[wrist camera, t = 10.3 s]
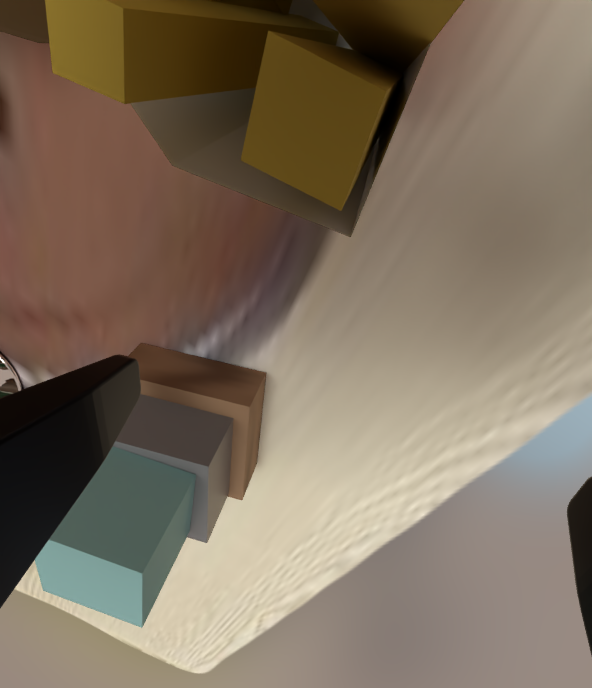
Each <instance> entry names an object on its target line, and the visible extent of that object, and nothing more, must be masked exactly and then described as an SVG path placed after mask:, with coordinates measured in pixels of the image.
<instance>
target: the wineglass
mask: <svg viewBox="0 0 592 688" xmlns="http://www.w3.org/2000/svg"><path fill="white" fill-rule="evenodd" d="M20 390H22V386H21V383H20V381H19V378H18V376H17V374H16V372H15V371H14V369H13V368H12V366H11V365H10V364H9V363H8V361H7V360H6V359H5V358H4V357H3V356H2V355H1V354H0V398H2V397H4V396H7V395H10V394H12V393H15V392H18V391H20Z"/></svg>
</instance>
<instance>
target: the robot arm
mask: <svg viewBox="0 0 592 688" xmlns="http://www.w3.org/2000/svg"><path fill="white" fill-rule="evenodd" d="M140 394H141V382H140V371H139V363H138V361H137V360H136V359H135V358H132V357H128V356H124V355H114V356H111V357H109V358H106V359H103V360H101V361H98V362H95V363H93V364H90V365H87V366H85V367H82V368H79V369H76V370H74V371H71V372H68V373H66V374H63V375H60V376H58V377H55V378H52V379H50V380H47V381H44V382H42V383H39V384H36V385H34V386H31V387H28V388H26V389H23V390H20V391H18V392H15V393H12V394H10V395H7V396H4V397H2V398H0V608H1V607H2V605H3V604H4V602H5V601H6V599H7V598H8V597H9V595H10V594H11V593H12V591H13V590H14V588H15V587H16V585H17V584H18V583H19V581H20V580H21V578H22V577H23V576H24V574H25V573H26V571H27V570H28V569H29V567H30V566H31V564H32V563H33V561H34V560H35V559H36V557H37V556H38V554H39V553H40V552H41V550H42V549H43V547H44V546H45V544H46V543H47V542H48V540H49V539H50V537H51V536H52V535H53V533H54V532H55V530H56V529H57V527H58V526H59V525H60V523H61V522H62V520H63V519H64V518H65V516H66V515H67V513H68V512H69V510H70V509H71V508H72V506H73V505H74V503H75V502H76V501H77V499H78V498H79V496H80V495H81V494H82V492H83V491H84V489H85V488H86V486H87V485H88V484H89V482H90V481H91V479H92V478H93V477H94V475H95V474H96V472H97V471H98V469H99V468H100V466H101V465H102V463H103V462H104V460H105V459H106V457H107V455H108V454H109V452H110V450H111V449H112V447H113V445H114V443H115V441H116V440H117V438H118V436H119V434H120V432H121V430H122V429H123V427H124V425H125V423H126V421H127V420H128V418H129V416H130V414H131V412H132V411H133V409H134V407H135V405H136V403H137V402H138V400H139V397H140ZM567 518H568V526H569V534H570V542H571V550H572V557H573V565H574V573H575V581H576V587H577V594H578V598H579V604H580V608H581V613H582V617H583V621H584V626H585V630H586V634H587V638H588V642H589V646H590V651H591V655H592V477H590V478H588V479H587V481H586V482H585V483H584V484H583V486H582V487H581V488H580V490H579V491H578V492H577V493H576V494H575V495H574V497H573V498H572V499H571V501H570V502H569V505H568V508H567Z"/></svg>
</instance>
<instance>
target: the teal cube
mask: <svg viewBox="0 0 592 688" xmlns="http://www.w3.org/2000/svg"><path fill="white" fill-rule="evenodd" d="M195 480H196V475H195V474H192V473H189V472H186V471H183V470H181V469H178V468H175V467H172V466H169V465H166V464H163V463H160V462H157V461H154V460H151V459H148V458H145V457H143V456H140V455H137V454H134V453H131V452H128V451H125V450H122V449H119V448H116V447H112V449H111V450H110V452H109V454H108V455H107V457H106V459H105V460H104V462H103V463H102V465H101V466H100V468H99V469H98V471H97V472H96V474H95V475H94V477H93V478H92V479H91V481H90V482H89V484H88V485H87V486H86V488H85V489H84V491H83V492H82V494H81V495H80V496H79V498H78V499H77V501H76V502H75V503H74V505H73V506H72V508H71V509H70V510H69V512H68V513H67V515H66V516H65V518H64V519H63V520H62V522H61V523H60V525H59V526H58V527H57V529H56V530H55V532H54V533H53V535H52V536H51V537H50V539H49V540H48V542H47V543H46V544H45V546H44V547H43V549H42V550H41V552H40V553H39V554H38V556H37V557H36V559H35V562H36V566H37V570H38V573H39V577H40V580H41V584H42V588H43V591H46V592H48V593H51V594H54V595H56V596H59V597H62V598H64V599H67V600H70V601H72V602H75V603H78V604H80V605H83V606H86V607H88V608H91V609H94V610H96V611H99V612H102V613H104V614H107V615H110V616H112V617H115V618H118V619H120V620H123V621H126V622H128V623H131V624H134V625H136V626H139V627H143V625H144V623H145V621H146V619H147V617H148V615H149V613H150V611H151V609H152V607H153V605H154V603H155V601H156V599H157V597H158V595H159V593H160V590H161V588H162V586H163V584H164V582H165V580H166V578H167V576H168V574H169V572H170V570H171V568H172V566H173V564H174V562H175V560H176V558H177V556H178V554H179V552H180V550H181V548H182V546H183V544H184V542H185V540H186V538H187V536H188V533H189V531H190V524H191V515H192V506H193V498H194V489H195Z"/></svg>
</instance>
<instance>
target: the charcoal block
mask: <svg viewBox="0 0 592 688" xmlns="http://www.w3.org/2000/svg"><path fill="white" fill-rule="evenodd" d="M233 419H234V418H231V417H227V416H223V415H219V414H215V413H212V412H208V411H204V410H200V409H196V408H192V407H189V406H185V405H181V404H177V403H173V402H169V401H166V400H162V399H158V398H154V397H150V396H146V395H142V394H140V397H139V400H138V402H137V403H136V405H135V407H134V409H133V411H132V412H131V414H130V416H129V418H128V420H127V421H126V423H125V425H124V427H123V429H122V430H121V432H120V434H119V436H118V438H117V440H116V441H115V443H114V445H113V447H116V448H119V449H122V450H125V451H128V452H131V453H134V454H137V455H140V456H143V457H145V458H148V459H151V460H154V461H157V462H160V463H163V464H166V465H169V466H172V467H175V468H178V469H181V470H183V471H186V472H189V473H192V474H195V475H196V480H195V489H194V498H193V506H192V515H191V524H190V531H189V533H188V536H187V537H188V538H192V539H195V540H198V541H202V542H205V543H207V542H208V540H209V538H210V535H211V533H212V531H213V528H214V526H215V524H216V521H217V519H218V517H219V514H220V512H221V510H222V508H223V505H224V503H225V501H226V498H227V496H228V494H229V483H230V467H231V451H232V435H233Z"/></svg>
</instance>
